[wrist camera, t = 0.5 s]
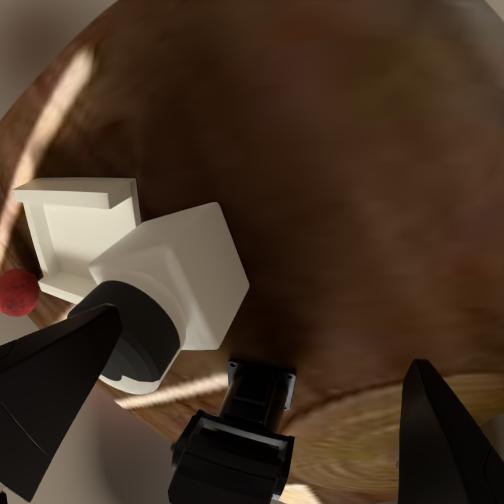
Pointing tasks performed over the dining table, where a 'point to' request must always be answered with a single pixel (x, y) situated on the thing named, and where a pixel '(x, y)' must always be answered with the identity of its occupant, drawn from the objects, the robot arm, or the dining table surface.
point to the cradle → (76, 227)
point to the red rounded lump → (18, 292)
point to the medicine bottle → (167, 293)
